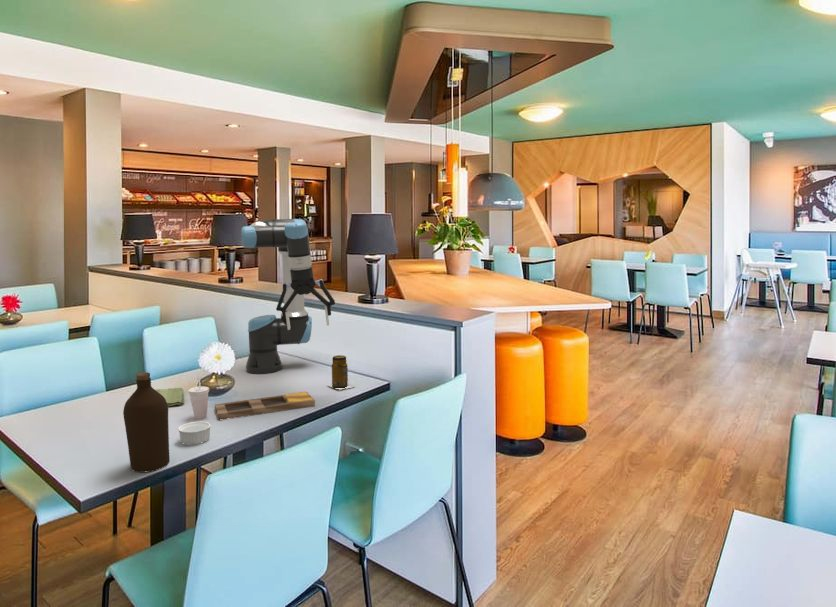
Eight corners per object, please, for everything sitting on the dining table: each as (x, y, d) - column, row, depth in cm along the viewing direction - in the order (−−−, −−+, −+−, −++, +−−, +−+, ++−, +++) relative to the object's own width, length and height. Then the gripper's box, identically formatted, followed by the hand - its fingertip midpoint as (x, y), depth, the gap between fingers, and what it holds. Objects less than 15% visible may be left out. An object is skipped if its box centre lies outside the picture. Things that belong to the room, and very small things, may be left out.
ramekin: (188, 434, 172) (187, 420, 171) (216, 435, 171) (215, 421, 170) (173, 445, 163) (172, 431, 162) (202, 446, 162) (201, 432, 161)
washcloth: (143, 412, 193) (142, 403, 192) (147, 397, 209) (146, 388, 209) (184, 407, 198) (184, 398, 197) (185, 393, 214) (184, 384, 213)
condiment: (343, 383, 224) (342, 353, 222) (354, 387, 218) (354, 357, 216) (327, 386, 220) (326, 356, 218) (338, 391, 213) (337, 360, 211)
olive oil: (141, 477, 143) (133, 381, 139) (120, 467, 149) (112, 375, 145) (180, 462, 151) (173, 372, 148) (158, 453, 157) (151, 366, 154)
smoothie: (198, 422, 182) (195, 380, 180) (186, 418, 185) (183, 377, 183) (215, 416, 187) (212, 375, 185) (202, 412, 190) (200, 372, 188)
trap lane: (214, 410, 193) (214, 403, 193) (307, 397, 206) (306, 391, 206) (218, 420, 183) (218, 413, 183) (314, 405, 197) (314, 399, 196)
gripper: (262, 273, 188) (271, 333, 194) (337, 266, 192) (344, 325, 197) (265, 269, 196) (273, 327, 201) (337, 262, 199) (343, 319, 204)
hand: (308, 326), depth 199 cm, fingers open, 13 cm apart
